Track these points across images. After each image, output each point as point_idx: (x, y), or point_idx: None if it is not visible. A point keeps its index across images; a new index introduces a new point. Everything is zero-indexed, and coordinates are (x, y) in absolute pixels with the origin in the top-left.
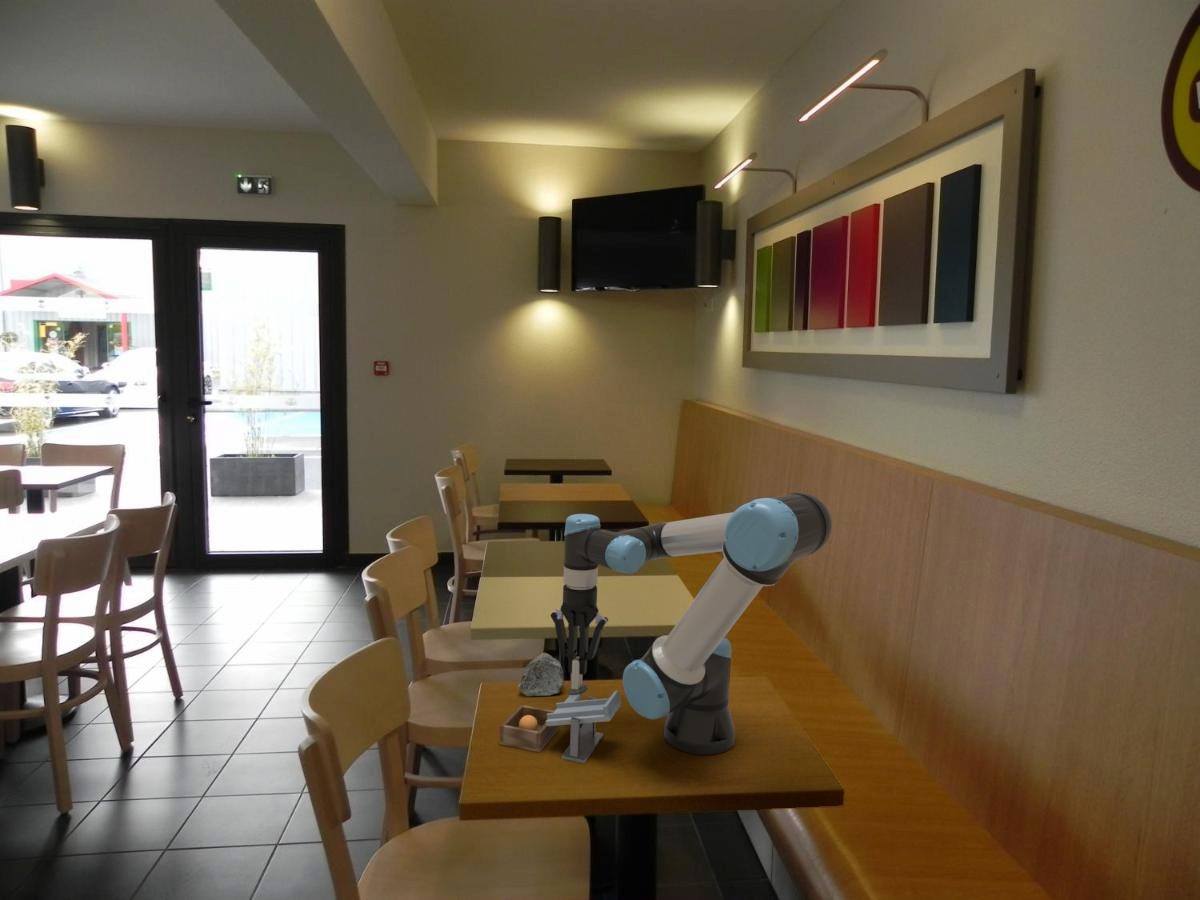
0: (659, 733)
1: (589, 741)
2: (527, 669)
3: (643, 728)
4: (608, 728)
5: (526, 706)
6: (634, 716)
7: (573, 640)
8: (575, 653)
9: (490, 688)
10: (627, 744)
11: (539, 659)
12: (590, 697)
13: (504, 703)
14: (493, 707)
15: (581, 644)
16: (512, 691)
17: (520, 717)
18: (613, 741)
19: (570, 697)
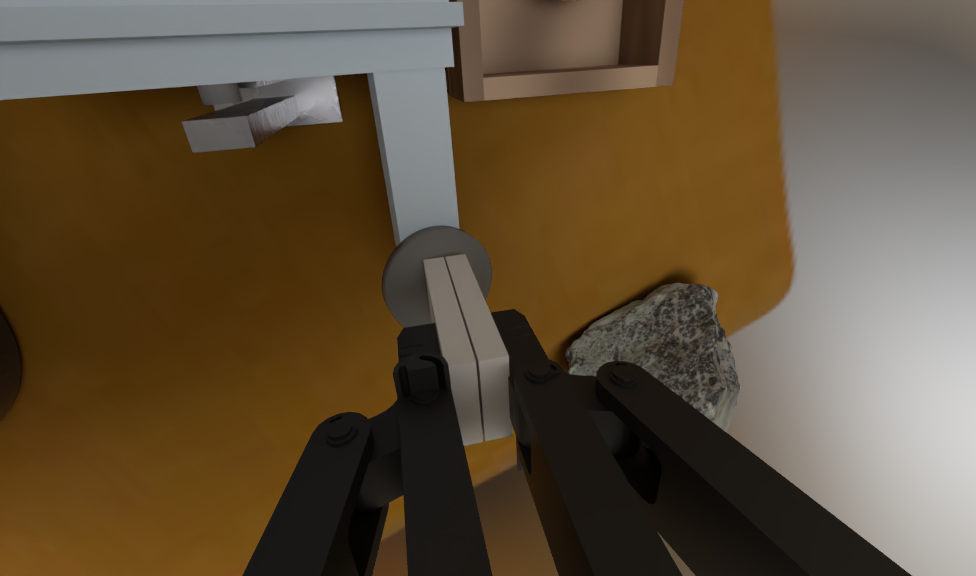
0: (10, 280)
1: None
2: (728, 363)
3: (112, 285)
4: (252, 210)
5: (642, 78)
6: (221, 352)
7: (581, 541)
8: (521, 442)
9: (790, 272)
10: (56, 103)
11: (716, 410)
12: (231, 128)
13: (724, 198)
14: (756, 149)
15: (454, 532)
16: (718, 290)
17: (637, 34)
18: (144, 100)
19: (439, 191)
